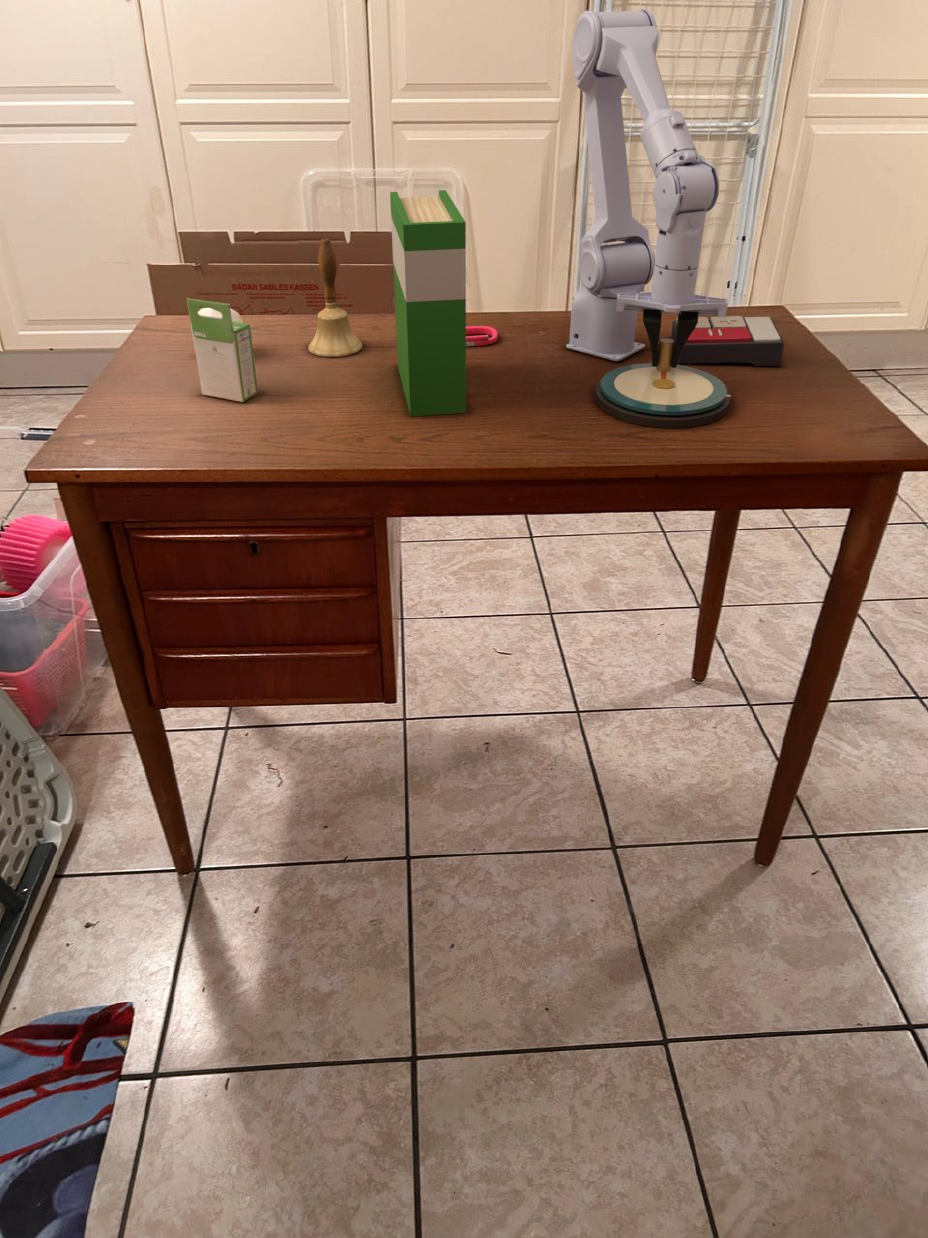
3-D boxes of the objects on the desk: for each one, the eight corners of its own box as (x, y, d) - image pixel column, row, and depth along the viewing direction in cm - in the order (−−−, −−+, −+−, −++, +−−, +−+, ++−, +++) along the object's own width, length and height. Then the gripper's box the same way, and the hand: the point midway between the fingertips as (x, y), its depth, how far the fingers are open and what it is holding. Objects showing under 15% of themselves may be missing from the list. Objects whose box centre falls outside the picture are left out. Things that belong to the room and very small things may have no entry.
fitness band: (448, 347, 147) (448, 338, 146) (443, 334, 152) (443, 325, 151) (500, 345, 148) (500, 335, 147) (494, 332, 152) (494, 322, 152)
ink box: (260, 393, 132) (247, 295, 125) (243, 404, 129) (228, 304, 122) (219, 385, 135) (203, 289, 127) (201, 395, 132) (184, 297, 124)
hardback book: (397, 367, 140) (390, 191, 126) (447, 364, 141) (445, 189, 127) (410, 416, 126) (403, 224, 112) (466, 412, 127) (465, 222, 113)
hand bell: (298, 353, 145) (286, 243, 136) (325, 335, 151) (315, 229, 142) (346, 360, 142) (338, 249, 133) (371, 342, 149) (365, 235, 139)
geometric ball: (220, 368, 148) (217, 316, 148) (258, 357, 143) (255, 304, 144) (181, 356, 141) (178, 303, 141) (220, 345, 137) (217, 290, 137)
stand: (569, 403, 129) (569, 395, 129) (638, 366, 141) (639, 357, 140) (687, 440, 120) (689, 431, 119) (752, 396, 131) (753, 387, 130)
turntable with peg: (729, 419, 122) (735, 384, 119) (596, 410, 124) (599, 375, 121) (723, 370, 135) (728, 338, 132) (603, 363, 137) (606, 331, 135)
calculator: (672, 315, 148) (772, 312, 146) (670, 342, 150) (768, 340, 149) (679, 339, 139) (785, 337, 137) (677, 368, 141) (781, 366, 140)
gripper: (619, 270, 123) (610, 371, 131) (734, 275, 121) (718, 378, 129) (621, 255, 129) (612, 353, 137) (731, 260, 127) (716, 359, 135)
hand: (663, 364), depth 133 cm, fingers closed on turntable with peg, 2 cm apart
